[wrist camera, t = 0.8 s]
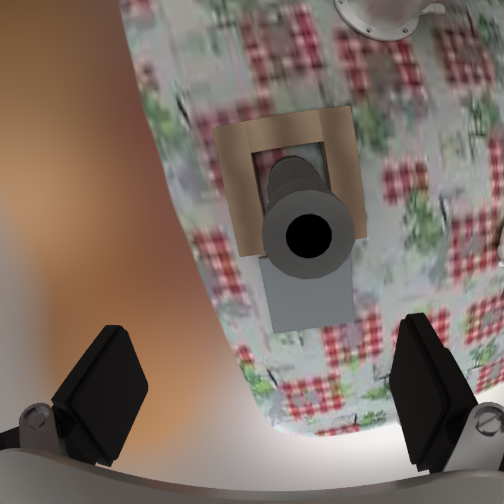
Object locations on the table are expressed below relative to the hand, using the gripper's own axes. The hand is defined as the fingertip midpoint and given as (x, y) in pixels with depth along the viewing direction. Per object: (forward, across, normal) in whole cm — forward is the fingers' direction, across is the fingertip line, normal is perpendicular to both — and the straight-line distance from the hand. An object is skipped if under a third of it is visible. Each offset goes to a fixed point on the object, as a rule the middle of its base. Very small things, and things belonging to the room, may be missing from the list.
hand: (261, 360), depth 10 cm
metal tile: (+35, -3, +17) cm, 39 cm away
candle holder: (+35, -2, 0) cm, 35 cm away
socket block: (+35, -2, 0) cm, 35 cm away
